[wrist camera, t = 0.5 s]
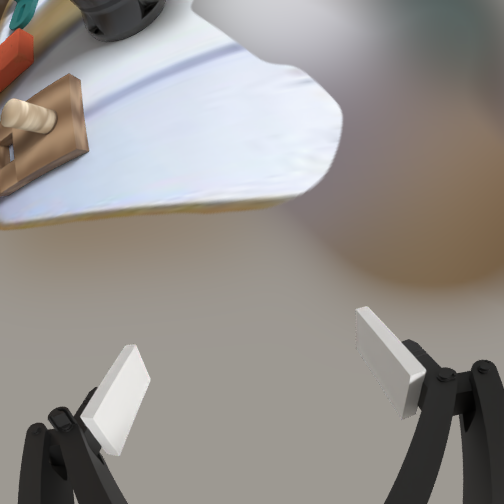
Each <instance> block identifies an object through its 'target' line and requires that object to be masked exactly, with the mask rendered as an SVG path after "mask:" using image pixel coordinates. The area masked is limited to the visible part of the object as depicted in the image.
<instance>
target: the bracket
mask: <svg viewBox="0 0 504 504" xmlns="http://www.w3.org/2000/svg"><path fill="white" fill-rule="evenodd" d="M15 1H16V2H17V5H16V8H15V11H14V13H13V16H12V19H11V22H10V26H9V28H10V29H11V30H13V31H15V30H17V29H18V28H20V29H23V28H24V27H25V26H26V25H27V24H28V23H29V22H30V20H31V19H32V17H33V15H34V12H35V9H36V6H37V3H38V0H15Z"/></svg>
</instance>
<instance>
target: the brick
mask: <svg viewBox="0 0 504 504" xmlns="http://www.w3.org/2000/svg"><path fill="white" fill-rule="evenodd" d="M33 62H34V56H33V36H32V35H30V34H29V33H27V32H25V31H23V30H22V29H20V28H18V29H17V30H15V31H14V32H13V33H12V34H11V35H10V36H9V37H8V38H7V39H6V40H5V41H4V42H3V43H2V44H1V45H0V93H1V92H2V91H3V90H4V89H5V88H6V87H7V86H8V85H9V84H10V83H11V82H12V81H13V80H14V79H16V78H17V77H18V76H19V75H20V74H21V73H22V72H23V71H25V70H26V69H27V68H28V67H29V66H31V65H32V64H33Z"/></svg>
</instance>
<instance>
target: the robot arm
mask: <svg viewBox="0 0 504 504" xmlns="http://www.w3.org/2000/svg"><path fill="white" fill-rule="evenodd" d="M70 1H72V2H73V3H74V4H75V5H76V6H77V7H78V8H79V9H80V10H81V13H82V16H83V20H84V23H85V27H86V29H87V31H88V32H89V33H90V34H91V35H92V36H93V37H94V38H96V39H98V40H100V41H107V42H110V41H117V40H121V39H125V38H127V37H130V36H132V35H134V34H136V33H138V32H139V31H141V30H143V29H144V28H145V27H147V26H148V25H149V24H150V23H152V22H153V21H154V20H155V19H156V18H157V16H158V15H159V14H160V13H161V11H162V9H163V7H164V5H165V2H166V0H70ZM355 310H356V311H355V312H356V349H357V350H358V352H359V353H360V355H361V356H362V358H363V359H364V361H365V363H366V364H367V365H368V367H369V369H370V370H371V372H372V373H373V375H374V377H375V378H376V380H377V381H378V383H379V385H380V386H381V387H382V389H383V391H384V393H385V394H386V396H387V397H388V399H389V401H390V402H391V404H392V405H393V407H394V409H395V410H396V412H397V414H398V415H399V417H400V418H401V420H402V419H405V418H407V417H410V416H412V415H415V414H416V411H417V407H418V406H419V408H420V409H421V411H422V412H421V415H420V418H419V421H418V424H417V427H416V430H415V433H414V436H413V439H412V442H411V444H410V447H409V449H408V452H407V455H406V457H405V460H404V462H403V464H402V467H401V469H400V472H399V474H398V476H397V478H396V481H395V482H394V485H393V487H392V489H391V491H390V493H389V495H388V497H387V499H386V501H385V503H384V504H427V503H428V500H429V498H430V495H431V492H432V489H433V487H434V484H435V481H436V478H437V475H438V471H439V468H440V465H441V462H442V458H443V455H444V451H445V447H446V443H447V439H448V434H449V430H450V426H451V421H452V416H455V415H459V419H460V428H461V438H462V452H463V504H504V388H503V385H502V382H501V379H500V376H499V373H498V371H497V368H496V366H495V365H494V364H493V363H492V362H491V361H488V360H479V361H476V362H475V363H474V364H473V366H472V368H471V371H467V372H462V373H456V371H454V370H453V369H450V368H441V367H440V366H439V365H438V364H437V363H436V362H435V361H434V360H433V359H432V358H431V357H430V356H429V355H428V354H427V353H426V352H425V351H424V349H422V347H420V345H419V344H418V343H416V342H414V341H412V340H409V339H408V340H405V341H403V342H400V340H399V339H398V338H397V337H396V336H395V335H394V334H393V333H392V332H391V331H390V330H389V328H388V327H387V326H386V325H385V324H384V323H383V322H382V321H381V320H380V319H379V318H378V317H377V316H376V315H375V314H374V313H373V312H372V311H371V310H370V308H368V306H366V307H362V308H358V309H355ZM150 380H151V379H150V377H149V374H148V372H147V370H146V368H145V365H144V363H143V360H142V358H141V356H140V353H139V351H138V348H137V346H136V345H125V347H124V348H123V350H122V351H121V353H120V354H119V356H118V357H117V359H116V360H115V362H114V363H113V365H112V367H111V368H110V370H109V371H108V373H107V374H106V376H105V377H104V379H103V380H102V382H101V384H100V385H99V387H95V388H94V389H93V390H91V391H90V392H89V394H88V395H87V397H86V398H85V400H84V401H83V403H82V405H81V406H80V408H79V409H78V411H77V412H76V414H75V415H74V417H73V416H72V414H71V412H70V411H69V409H68V408H66V407H58V408H56V409H54V410H52V411H51V412H50V414H49V415H48V420H49V421H50V423H51V424H52V426H53V427H54V429H50V430H48V429H47V428H46V426H45V425H44V424H43V423H35V424H32V425H31V426H30V427H29V429H28V430H27V433H26V439H25V444H24V450H23V456H22V463H21V471H20V480H19V492H18V504H74V494H73V490H74V493H75V495H76V498H77V500H78V503H79V504H128V503H127V501H126V500H125V498H124V496H123V495H122V493H121V491H120V489H119V487H118V486H117V484H116V482H115V480H114V478H113V476H112V475H111V473H110V471H109V469H108V467H107V465H106V462H105V461H104V459H103V456H102V455H101V454H100V452H99V451H100V449H101V447H102V448H103V449H104V451H105V452H106V453H107V454H110V455H117V456H120V453H121V451H122V449H123V446H124V443H125V441H126V438H127V436H128V433H129V431H130V428H131V426H132V423H133V421H134V419H135V416H136V414H137V411H138V408H139V406H140V404H141V401H142V399H143V397H144V394H145V392H146V390H147V387H148V385H149V383H150Z"/></svg>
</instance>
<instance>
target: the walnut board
mask: <svg viewBox="0 0 504 504" xmlns="http://www.w3.org/2000/svg"><path fill="white" fill-rule="evenodd" d="M12 143H13V149H14V160H13V161H11V162H10V154H9V146H10V145H11V144H12ZM87 152H89V147H88V141H87V134H86V127H85V120H84V112H83V103H82V93H81V81H80V80H79V79H78V78H76V77H74V76H73V75H71V74H67V75H65V76H64V77H62V78H60V79H59V80H57V81H55V82H54V83H52V84H51V85H49V86H47V87H46V88H44V89H43V90H41V91H40V92H38V93H37V94H35V95H34V96H33V97H31V98H30V99H28V100H27V101H21V100H18V99H15V98H13V99H10V100H9V101H8V102H7V103H6V104H5V106H4V108H3V110H2V113H1V121H0V197H2V196H8V195H10V194H11V193H13V192H15V191H16V190H18V189H19V188H21V187H23V186H24V185H26V184H28V183H29V182H31V181H33V180H35V179H36V178H38V177H40V176H42V175H43V174H45V173H47V172H49V171H51V170H52V169H54V168H56V167H58V166H60V165H62V164H64V163H66V162H68V161H70V160H72V159H74V158H76V157H78V156H80V155H82V154H84V153H87Z"/></svg>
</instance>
